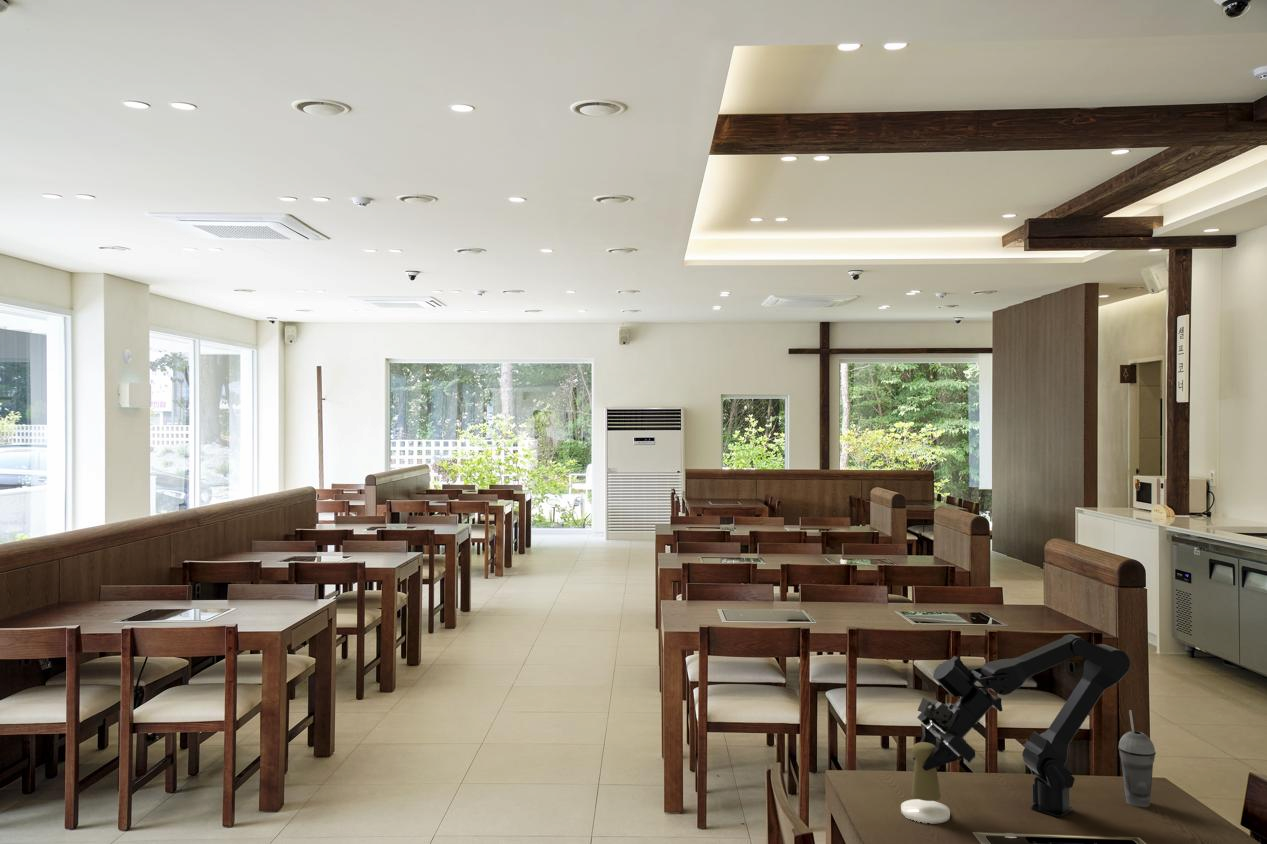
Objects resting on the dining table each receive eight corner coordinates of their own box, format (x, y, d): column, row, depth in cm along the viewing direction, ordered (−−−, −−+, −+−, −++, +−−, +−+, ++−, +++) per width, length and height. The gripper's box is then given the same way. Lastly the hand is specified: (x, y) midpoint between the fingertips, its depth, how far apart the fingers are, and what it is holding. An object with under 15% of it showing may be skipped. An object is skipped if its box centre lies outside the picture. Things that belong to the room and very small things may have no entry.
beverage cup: (1149, 812, 195) (1147, 718, 195) (1113, 802, 200) (1111, 711, 201) (1162, 803, 200) (1160, 711, 200) (1126, 794, 205) (1124, 704, 206)
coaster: (959, 815, 194) (959, 809, 195) (932, 827, 188) (932, 822, 188) (919, 801, 202) (918, 795, 202) (891, 812, 196) (891, 807, 196)
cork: (946, 799, 193) (945, 747, 193) (920, 802, 192) (919, 749, 192) (931, 788, 199) (929, 738, 199) (906, 791, 198) (904, 740, 198)
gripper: (925, 674, 206) (878, 725, 205) (958, 697, 187) (907, 753, 186) (960, 708, 206) (913, 759, 205) (997, 734, 187) (946, 791, 186)
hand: (919, 764), depth 196 cm, fingers closed on cork, 5 cm apart
